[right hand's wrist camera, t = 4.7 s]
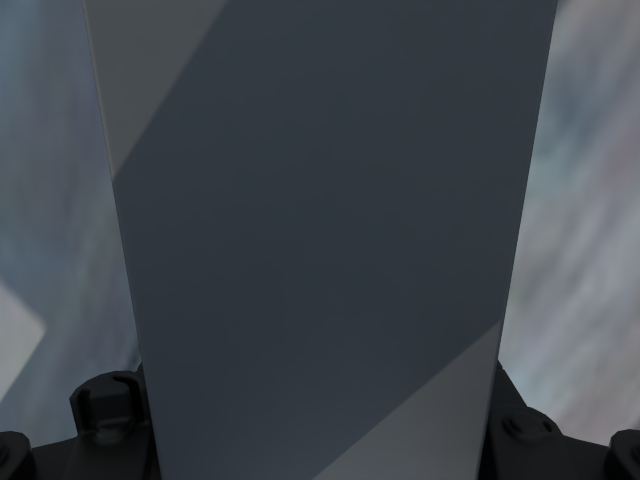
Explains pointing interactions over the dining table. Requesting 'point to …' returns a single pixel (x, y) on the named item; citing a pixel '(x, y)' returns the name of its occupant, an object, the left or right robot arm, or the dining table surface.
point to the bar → (319, 223)
